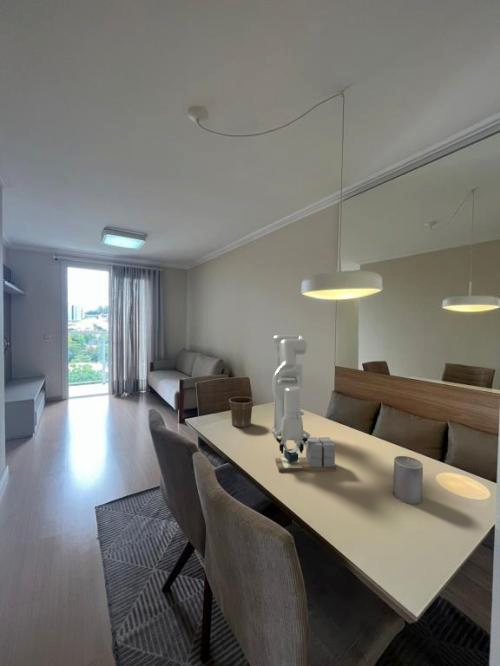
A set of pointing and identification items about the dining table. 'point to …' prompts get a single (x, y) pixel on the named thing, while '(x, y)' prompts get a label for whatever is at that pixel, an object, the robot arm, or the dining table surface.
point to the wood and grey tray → (312, 457)
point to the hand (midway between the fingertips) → (291, 451)
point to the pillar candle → (408, 479)
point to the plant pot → (241, 411)
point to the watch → (291, 451)
